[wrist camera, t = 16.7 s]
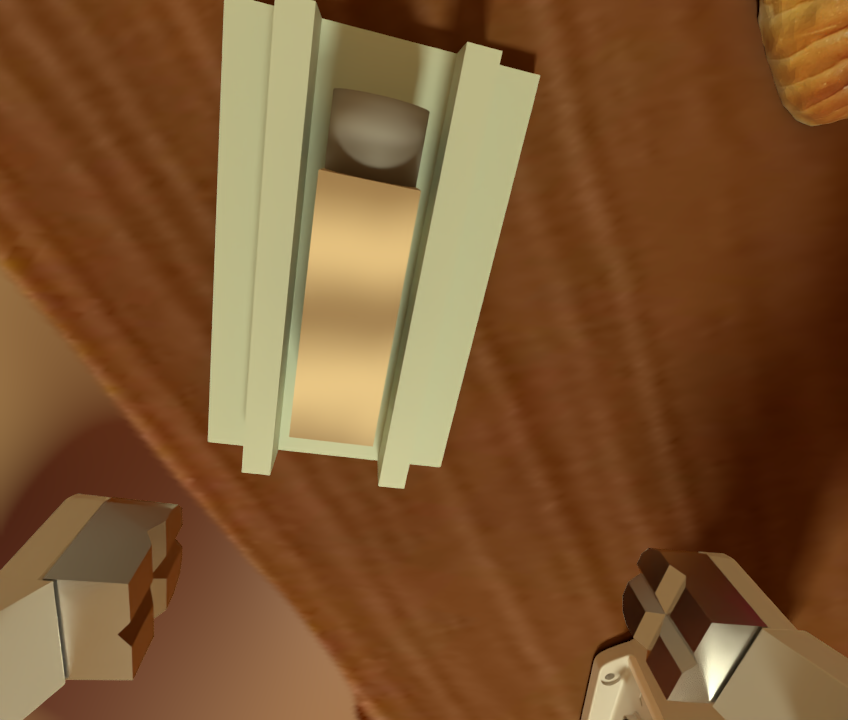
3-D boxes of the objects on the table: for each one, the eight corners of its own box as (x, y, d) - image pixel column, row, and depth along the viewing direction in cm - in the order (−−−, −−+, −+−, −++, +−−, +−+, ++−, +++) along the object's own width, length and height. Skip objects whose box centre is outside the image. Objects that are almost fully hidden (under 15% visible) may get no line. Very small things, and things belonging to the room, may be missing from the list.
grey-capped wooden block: (372, 398, 28) (372, 446, 23) (302, 389, 27) (289, 437, 23) (423, 116, 22) (436, 107, 18) (337, 96, 22) (328, 81, 17)
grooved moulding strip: (438, 458, 31) (445, 492, 28) (213, 432, 29) (193, 467, 26) (533, 78, 23) (559, 66, 20) (230, 0, 21) (204, -29, 18)
